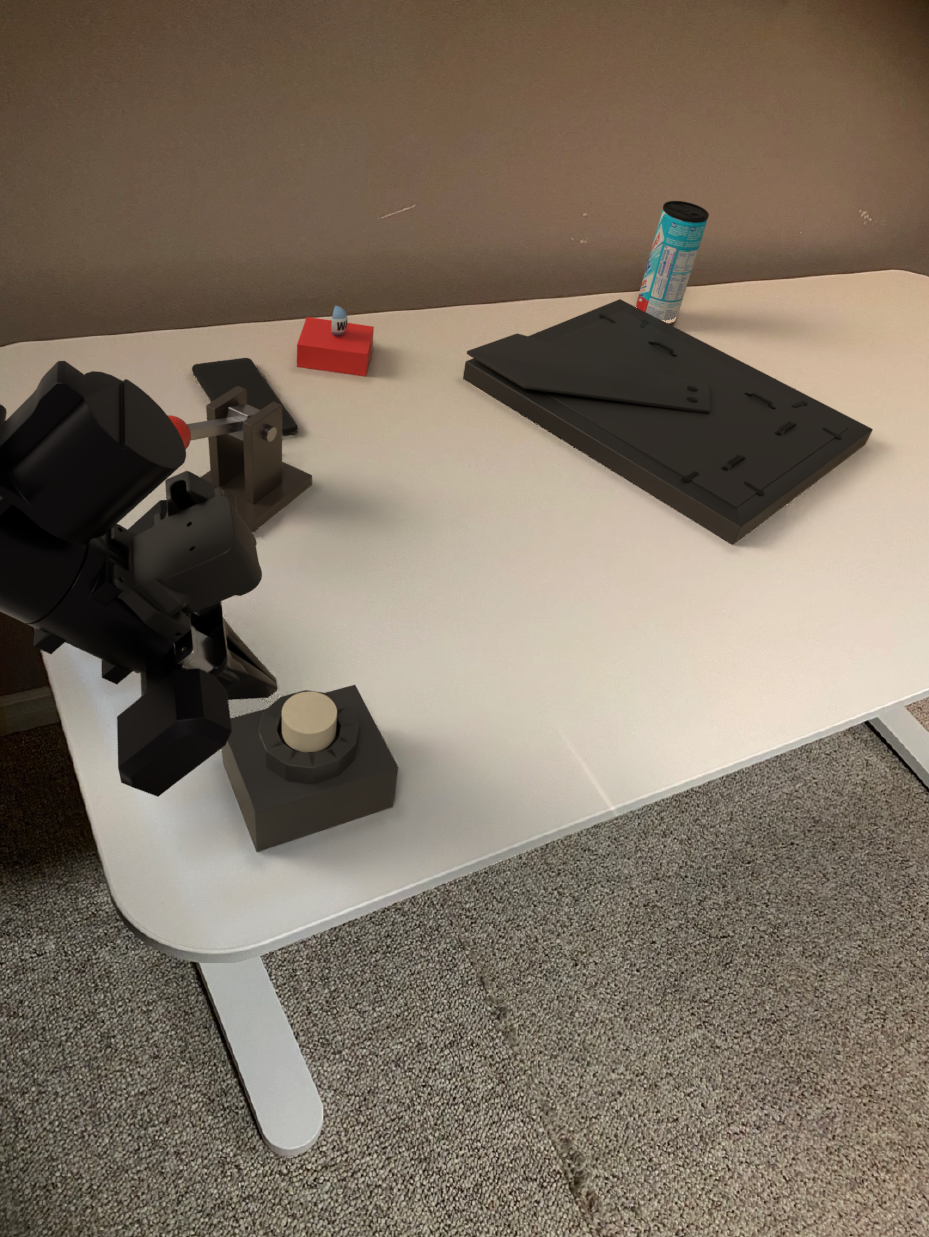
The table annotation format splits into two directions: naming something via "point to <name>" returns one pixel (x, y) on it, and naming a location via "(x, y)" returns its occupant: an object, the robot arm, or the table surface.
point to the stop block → (308, 772)
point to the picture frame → (669, 414)
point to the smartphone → (240, 385)
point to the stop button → (309, 721)
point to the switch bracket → (253, 461)
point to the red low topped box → (335, 345)
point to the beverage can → (671, 259)
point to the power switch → (215, 425)
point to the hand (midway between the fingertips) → (272, 689)
